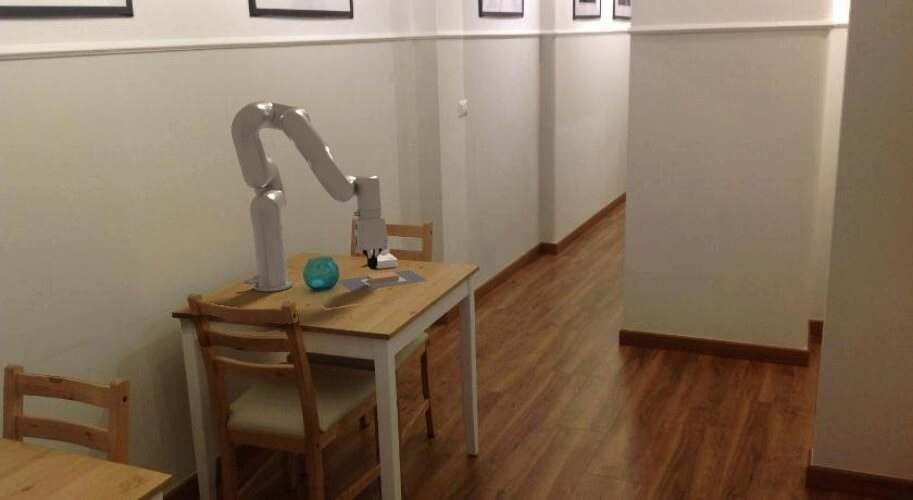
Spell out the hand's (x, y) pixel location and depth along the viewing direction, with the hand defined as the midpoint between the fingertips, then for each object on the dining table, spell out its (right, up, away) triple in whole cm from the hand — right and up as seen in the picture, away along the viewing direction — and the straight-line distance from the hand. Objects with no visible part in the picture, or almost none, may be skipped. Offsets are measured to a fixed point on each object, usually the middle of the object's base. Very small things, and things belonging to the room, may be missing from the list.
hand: (372, 268), depth 272 cm
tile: (-1, -4, 0) cm, 4 cm away
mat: (+3, -5, +2) cm, 6 cm away
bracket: (+1, 0, +25) cm, 25 cm away
